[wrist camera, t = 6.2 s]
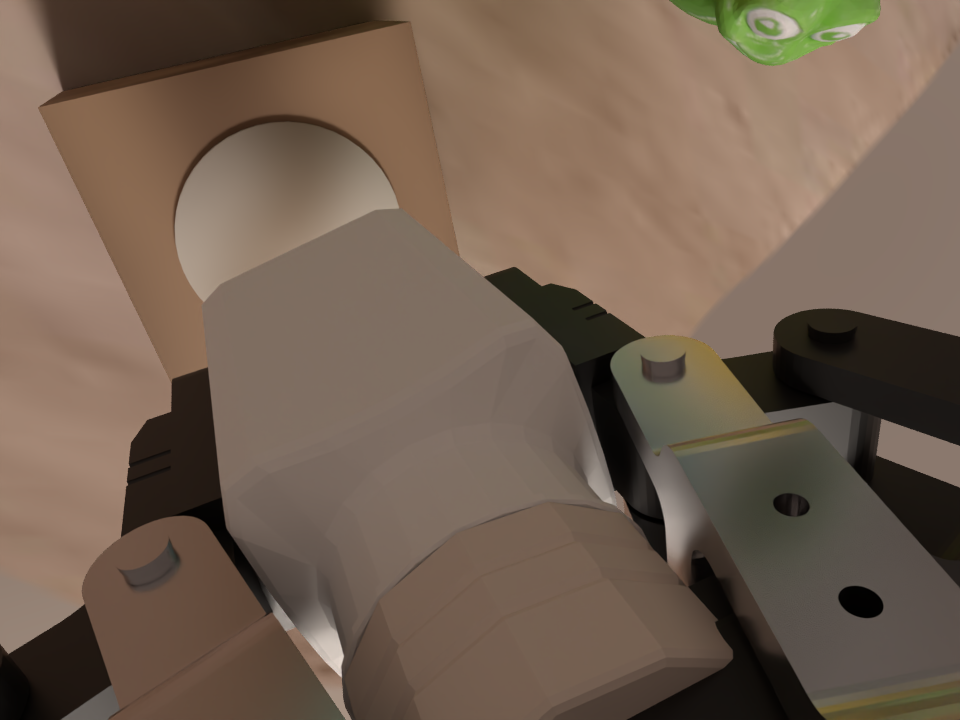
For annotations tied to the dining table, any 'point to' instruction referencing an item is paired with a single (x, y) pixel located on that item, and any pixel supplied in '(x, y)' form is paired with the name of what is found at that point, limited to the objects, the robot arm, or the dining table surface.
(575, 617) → the salt shaker
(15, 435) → the dining table surface
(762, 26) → the turtle holder
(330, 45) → the base
